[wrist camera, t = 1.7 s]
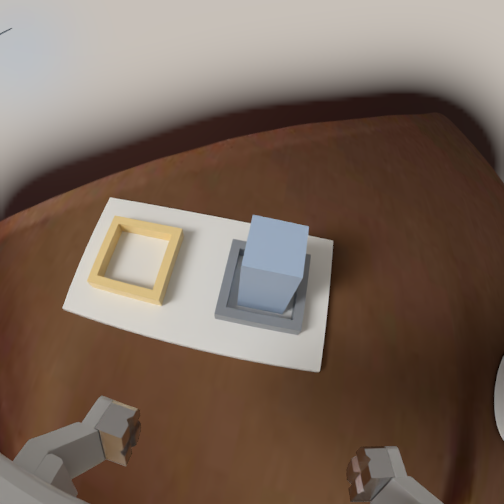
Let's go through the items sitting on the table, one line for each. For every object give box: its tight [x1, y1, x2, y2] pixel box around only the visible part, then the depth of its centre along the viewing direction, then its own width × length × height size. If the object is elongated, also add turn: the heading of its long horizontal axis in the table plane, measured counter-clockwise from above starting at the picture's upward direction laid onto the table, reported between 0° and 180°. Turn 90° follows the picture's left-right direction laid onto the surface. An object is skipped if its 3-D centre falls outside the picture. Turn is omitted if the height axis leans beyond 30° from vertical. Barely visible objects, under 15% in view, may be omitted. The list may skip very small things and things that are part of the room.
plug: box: [237, 215, 309, 314], centre depth 25 cm, size 4×5×8 cm
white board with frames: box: [63, 198, 333, 372], centre depth 28 cm, size 24×13×2 cm, turn 79°
